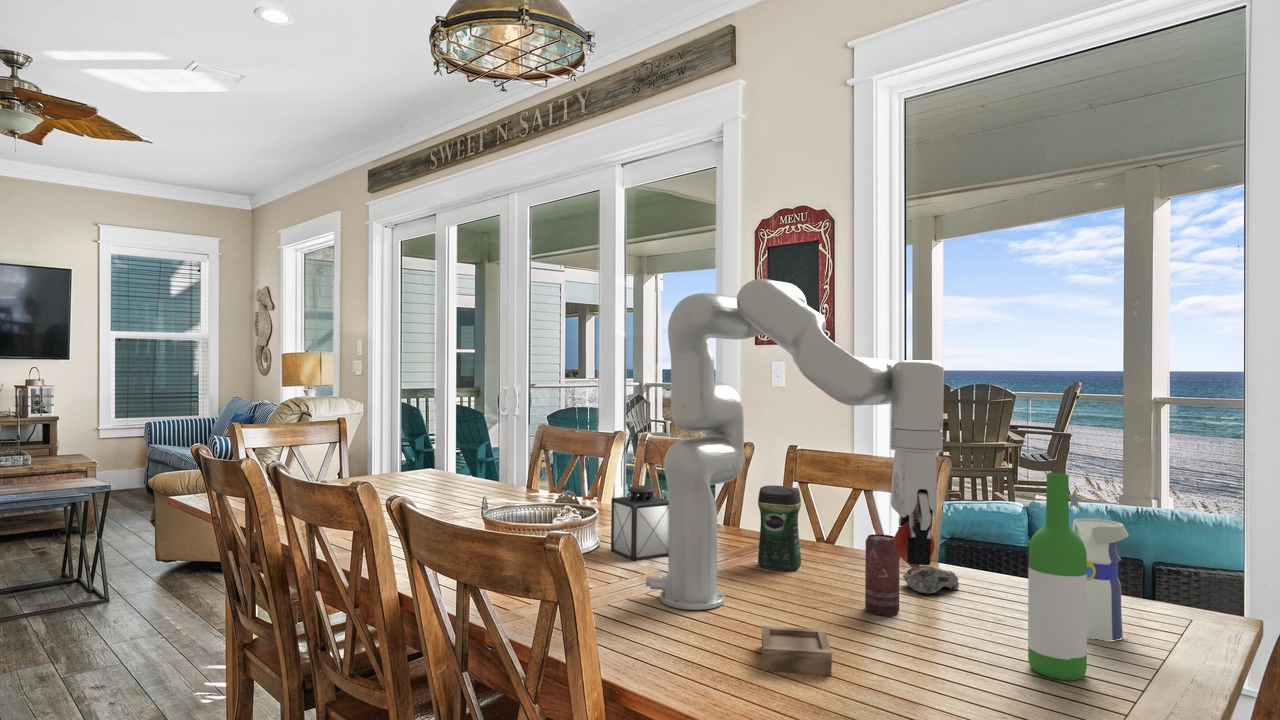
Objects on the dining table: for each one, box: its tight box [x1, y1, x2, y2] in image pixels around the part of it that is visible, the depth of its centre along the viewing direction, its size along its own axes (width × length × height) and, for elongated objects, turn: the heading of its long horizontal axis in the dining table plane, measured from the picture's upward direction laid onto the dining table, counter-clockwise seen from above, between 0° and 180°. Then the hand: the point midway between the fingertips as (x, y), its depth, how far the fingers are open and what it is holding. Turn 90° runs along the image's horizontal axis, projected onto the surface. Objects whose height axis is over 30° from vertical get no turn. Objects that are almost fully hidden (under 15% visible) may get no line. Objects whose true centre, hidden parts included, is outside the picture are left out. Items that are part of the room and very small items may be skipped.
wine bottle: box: [1027, 471, 1088, 681], centre depth 112 cm, size 8×8×30 cm
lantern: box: [610, 439, 669, 562], centre depth 182 cm, size 11×11×28 cm
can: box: [864, 533, 902, 617], centre depth 140 cm, size 6×6×14 cm
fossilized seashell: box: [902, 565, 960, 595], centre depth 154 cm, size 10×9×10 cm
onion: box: [894, 521, 936, 568], centre depth 114 cm, size 6×6×8 cm
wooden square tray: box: [761, 625, 833, 676], centre depth 116 cm, size 10×10×3 cm
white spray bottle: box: [1069, 489, 1129, 641], centre depth 129 cm, size 8×9×25 cm
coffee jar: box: [757, 485, 802, 571], centre depth 171 cm, size 10×8×19 cm
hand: (913, 557), depth 114 cm, fingers closed on onion, 5 cm apart
